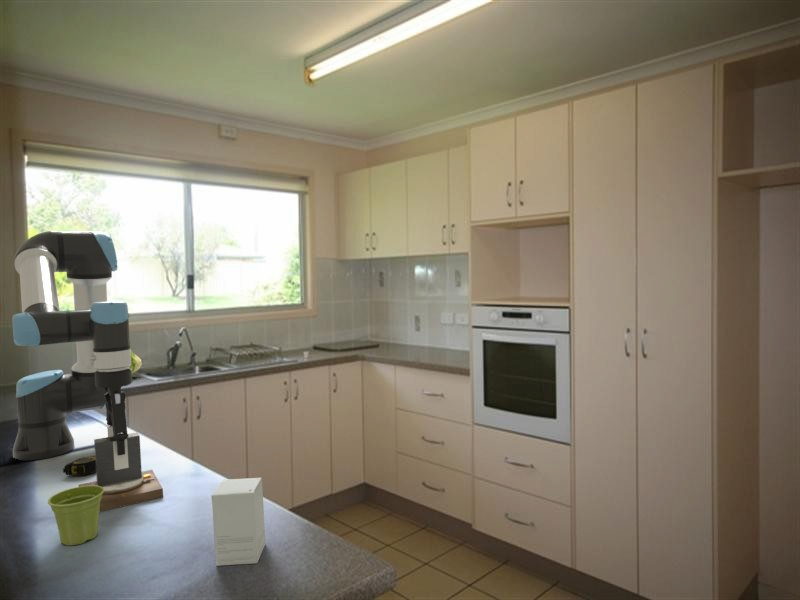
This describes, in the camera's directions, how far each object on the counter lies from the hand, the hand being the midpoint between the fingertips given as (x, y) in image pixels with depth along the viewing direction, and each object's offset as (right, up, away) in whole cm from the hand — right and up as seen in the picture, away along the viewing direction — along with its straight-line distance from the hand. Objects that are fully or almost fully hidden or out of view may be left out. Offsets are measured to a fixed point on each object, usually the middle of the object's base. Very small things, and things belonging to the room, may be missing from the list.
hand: (118, 460), depth 126 cm
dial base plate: (0, -8, 0) cm, 8 cm away
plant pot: (+3, -9, -20) cm, 23 cm away
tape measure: (-18, -8, +16) cm, 25 cm away
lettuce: (-78, -3, +149) cm, 168 cm away
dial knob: (+1, -6, +1) cm, 6 cm away
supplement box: (+37, -9, -28) cm, 47 cm away
